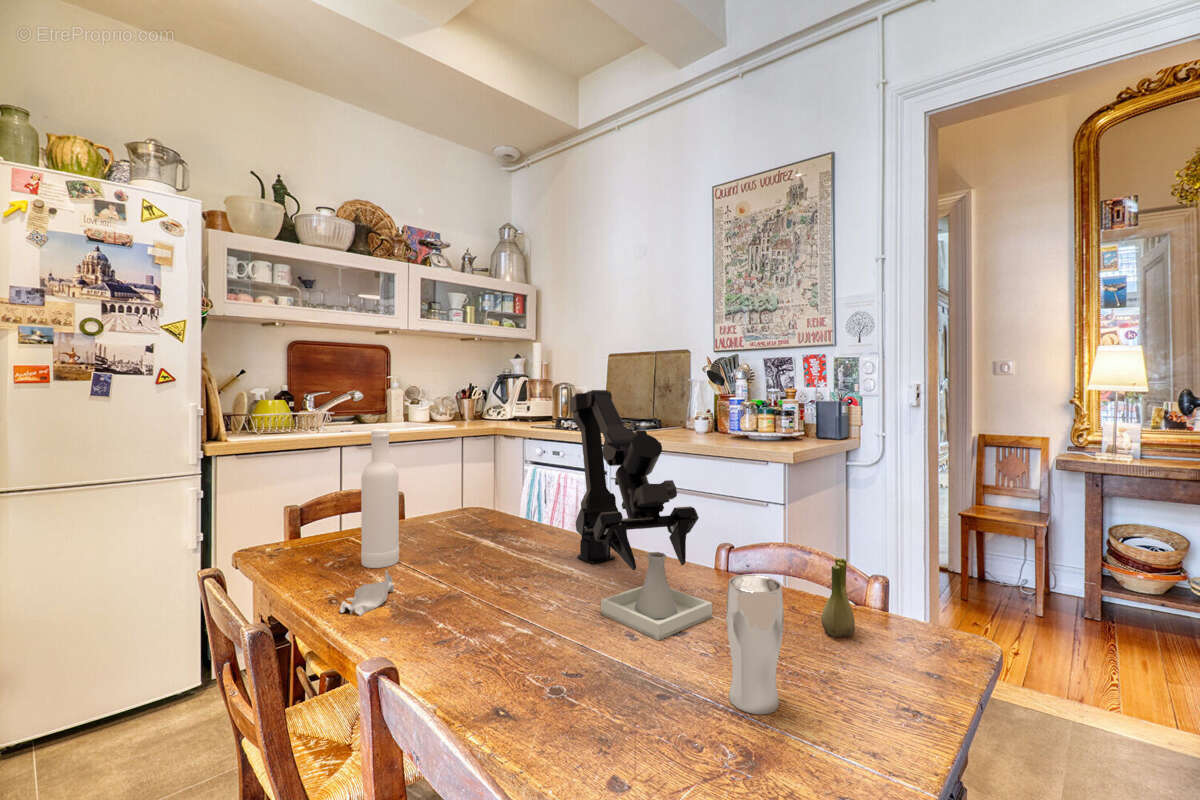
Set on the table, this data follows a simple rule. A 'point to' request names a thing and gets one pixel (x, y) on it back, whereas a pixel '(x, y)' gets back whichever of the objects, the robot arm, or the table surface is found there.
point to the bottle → (380, 506)
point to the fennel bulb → (838, 605)
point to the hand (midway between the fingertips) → (659, 566)
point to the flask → (656, 590)
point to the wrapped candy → (369, 596)
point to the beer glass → (754, 641)
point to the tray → (687, 616)
